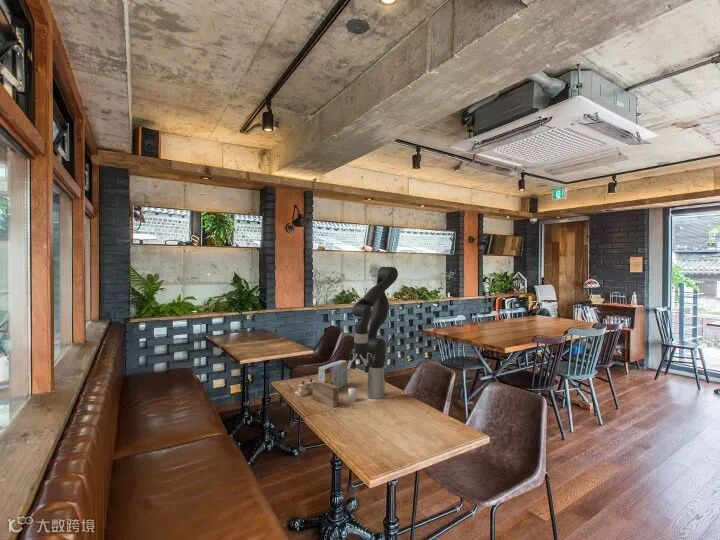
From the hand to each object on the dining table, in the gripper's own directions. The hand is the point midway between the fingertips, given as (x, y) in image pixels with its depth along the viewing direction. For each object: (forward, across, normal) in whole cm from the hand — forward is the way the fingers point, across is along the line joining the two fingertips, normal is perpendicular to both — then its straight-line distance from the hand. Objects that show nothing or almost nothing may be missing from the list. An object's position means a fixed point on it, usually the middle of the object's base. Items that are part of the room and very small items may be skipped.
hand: (360, 370), depth 205 cm
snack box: (+19, +25, -8) cm, 32 cm away
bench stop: (+19, +33, +8) cm, 39 cm away
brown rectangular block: (+18, +14, +12) cm, 26 cm away
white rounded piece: (+18, +5, 0) cm, 18 cm away
